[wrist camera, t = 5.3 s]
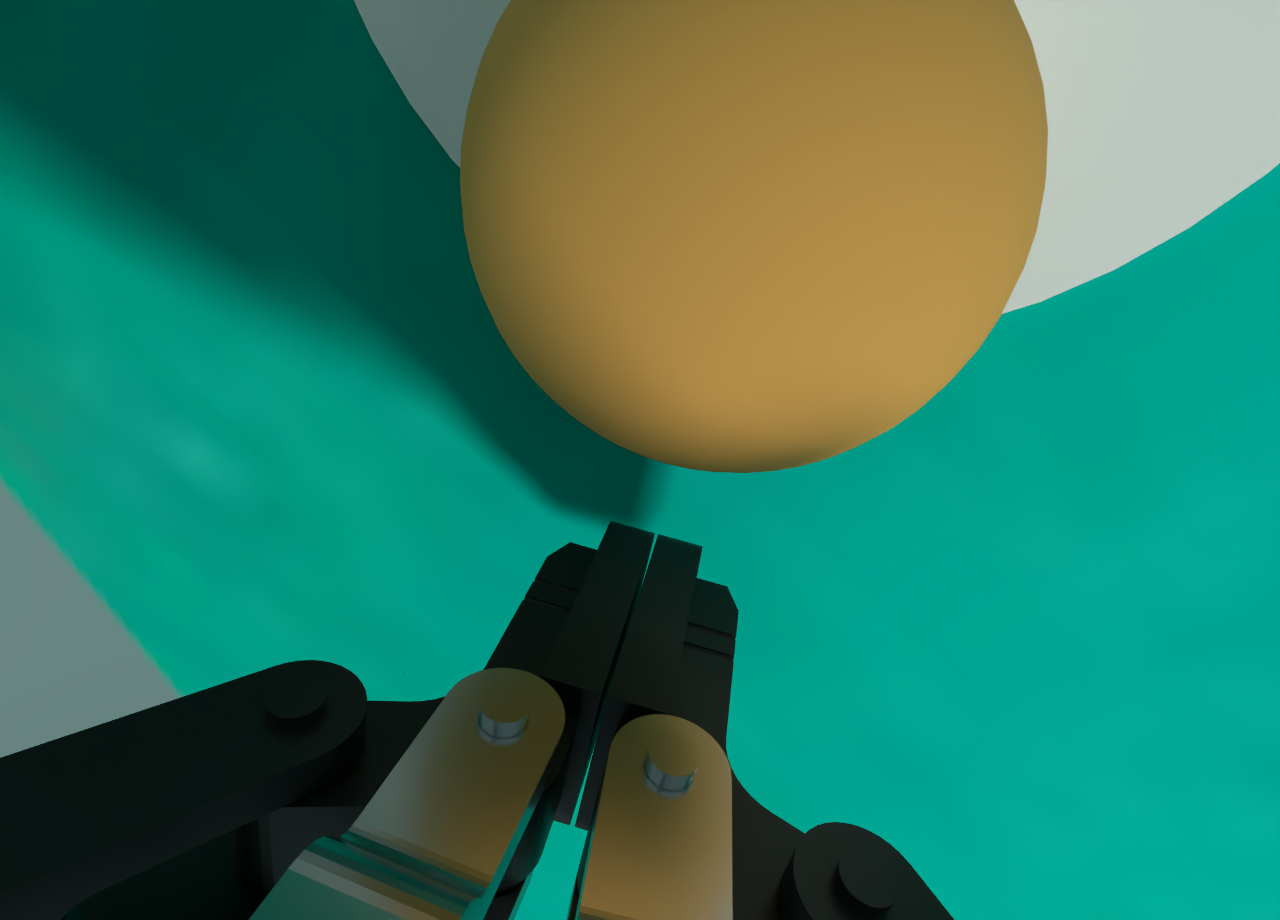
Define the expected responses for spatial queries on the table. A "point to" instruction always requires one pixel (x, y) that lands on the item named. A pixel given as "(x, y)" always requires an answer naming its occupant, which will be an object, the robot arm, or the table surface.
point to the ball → (751, 211)
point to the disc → (1075, 106)
